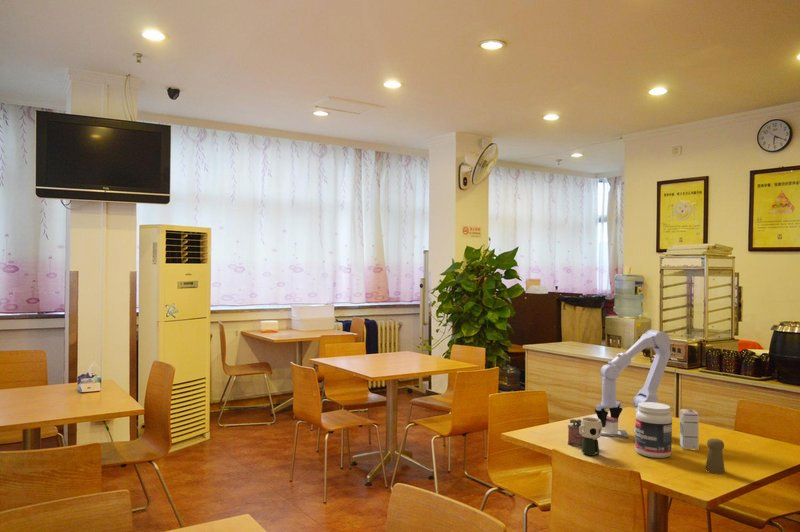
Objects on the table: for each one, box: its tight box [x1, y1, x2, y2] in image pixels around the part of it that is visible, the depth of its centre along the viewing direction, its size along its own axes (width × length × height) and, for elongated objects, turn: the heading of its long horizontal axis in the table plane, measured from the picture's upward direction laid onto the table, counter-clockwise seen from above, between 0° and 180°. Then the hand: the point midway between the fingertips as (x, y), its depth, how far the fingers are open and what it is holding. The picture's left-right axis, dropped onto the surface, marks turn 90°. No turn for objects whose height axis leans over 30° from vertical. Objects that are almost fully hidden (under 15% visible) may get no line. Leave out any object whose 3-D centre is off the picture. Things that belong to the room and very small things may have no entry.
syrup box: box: [679, 408, 700, 451], centre depth 234 cm, size 6×6×14 cm
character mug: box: [579, 416, 602, 456], centre depth 223 cm, size 11×7×13 cm, turn 116°
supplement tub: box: [634, 402, 673, 459], centre depth 225 cm, size 13×13×18 cm
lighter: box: [567, 418, 585, 447], centre depth 235 cm, size 8×3×10 cm, turn 84°
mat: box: [600, 429, 629, 439], centre depth 253 cm, size 15×11×1 cm
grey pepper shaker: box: [705, 438, 726, 475], centre depth 207 cm, size 6×6×11 cm
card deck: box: [602, 415, 619, 434], centre depth 253 cm, size 3×7×6 cm, turn 34°
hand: (608, 425), depth 253 cm, fingers open, 7 cm apart
